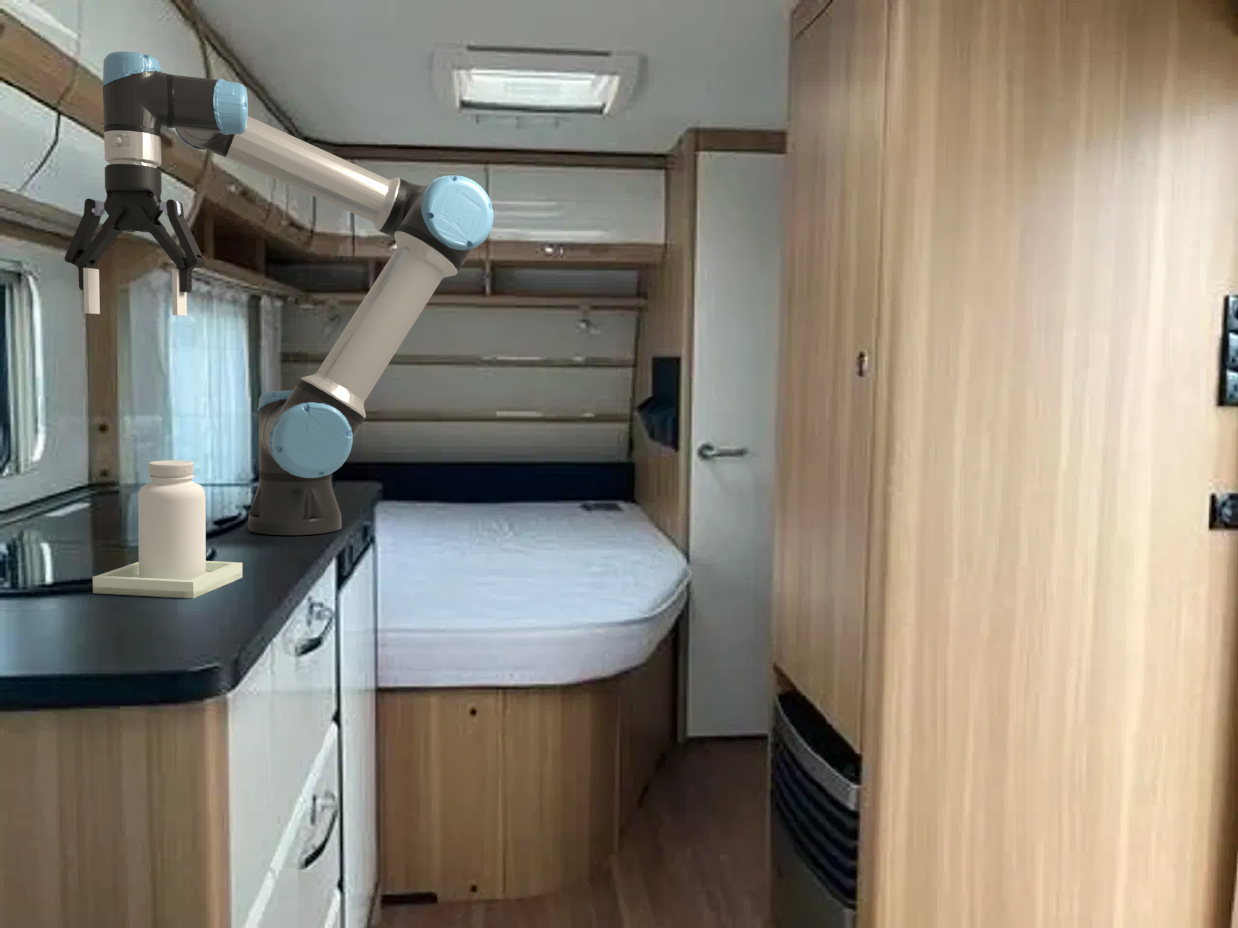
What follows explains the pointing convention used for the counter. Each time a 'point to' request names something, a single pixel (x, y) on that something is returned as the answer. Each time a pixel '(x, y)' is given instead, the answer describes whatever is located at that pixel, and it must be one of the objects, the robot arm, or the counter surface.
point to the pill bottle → (172, 523)
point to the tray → (166, 581)
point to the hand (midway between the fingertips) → (135, 314)
